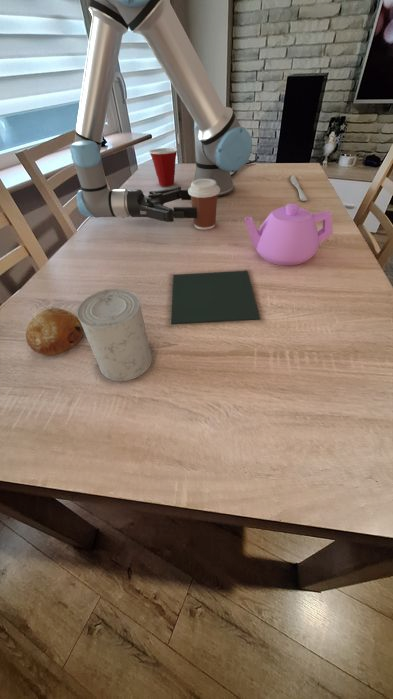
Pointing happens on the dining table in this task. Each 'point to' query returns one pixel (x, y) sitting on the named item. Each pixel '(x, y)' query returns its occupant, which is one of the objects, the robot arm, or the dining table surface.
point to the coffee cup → (204, 202)
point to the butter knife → (295, 183)
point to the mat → (213, 298)
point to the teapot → (289, 234)
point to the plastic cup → (164, 164)
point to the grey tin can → (116, 333)
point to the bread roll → (53, 331)
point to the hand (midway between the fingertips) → (199, 203)
